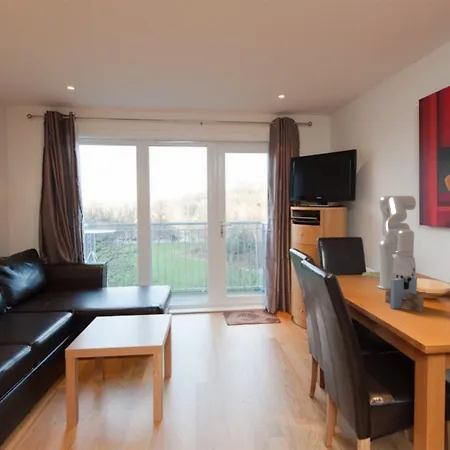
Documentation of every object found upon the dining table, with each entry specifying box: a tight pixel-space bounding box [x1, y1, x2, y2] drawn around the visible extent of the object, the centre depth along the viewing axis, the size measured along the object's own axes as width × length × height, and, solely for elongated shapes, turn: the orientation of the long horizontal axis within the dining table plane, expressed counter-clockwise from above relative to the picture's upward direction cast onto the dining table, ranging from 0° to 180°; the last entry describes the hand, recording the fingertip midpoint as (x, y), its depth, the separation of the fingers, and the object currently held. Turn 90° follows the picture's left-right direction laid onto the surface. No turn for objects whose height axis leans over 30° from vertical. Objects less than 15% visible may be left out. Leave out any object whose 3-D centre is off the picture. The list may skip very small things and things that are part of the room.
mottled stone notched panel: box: [384, 287, 425, 313], centre depth 178 cm, size 20×2×8 cm, turn 27°
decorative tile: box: [361, 271, 397, 281], centre depth 252 cm, size 19×20×4 cm
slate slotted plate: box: [389, 276, 418, 310], centre depth 178 cm, size 18×2×15 cm, turn 117°
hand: (403, 288), depth 177 cm, fingers closed on slate slotted plate, 2 cm apart
